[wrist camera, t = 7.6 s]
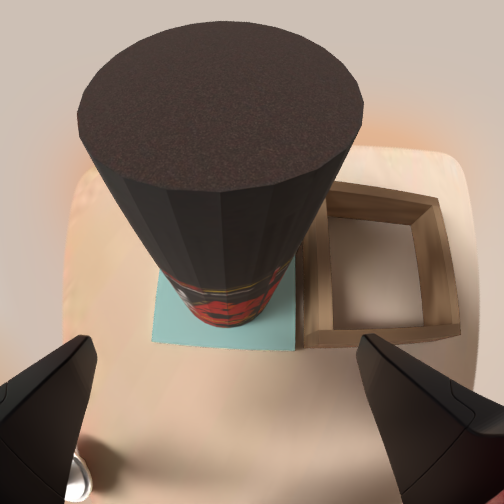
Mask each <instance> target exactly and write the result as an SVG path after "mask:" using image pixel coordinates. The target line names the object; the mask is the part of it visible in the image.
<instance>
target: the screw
mask: <svg viewBox="0 0 504 504" xmlns="http://www.w3.org/2000/svg"><path fill="white" fill-rule="evenodd" d="M91 491H92V478H91V475H90V472H89V470H88V468H87V466H86V462H85V460H84V459H83V458H81V457H80V456H79V455H78V454H77V453H76V452H75V453H74V457H73V461H72V465H71V470H70V475H69V480H68V485H67V490H66V495H65V500H66V501H69V502H81V501H83V500H85V499H86V498H87V497H88V496H89V495H90V493H91Z"/></svg>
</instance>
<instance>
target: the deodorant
mask: <svg viewBox="0 0 504 504" xmlns="http://www.w3.org/2000/svg"><path fill="white" fill-rule="evenodd" d="M363 107H364V101H363V98H362V95H361V93H360V90H359V87H358V84H357V81H356V80H355V79H354V77H353V76H352V75H351V73H350V72H349V71H348V69H347V68H346V67H345V66H344V64H343V63H342V62H341V61H339V60H338V59H337V58H336V57H335V56H333V55H332V54H331V53H329V52H328V51H327V50H326V49H324V48H323V47H321V46H319V45H317V44H315V43H314V42H312V41H310V40H308V39H306V38H304V37H302V36H300V35H297V34H295V33H292V32H289V31H286V30H283V29H280V28H276V27H272V26H267V25H262V24H256V23H250V22H234V21H233V22H232V21H216V22H205V23H196V24H190V25H185V26H181V27H177V28H173V29H169V30H165V31H163V32H160V33H157V34H155V35H152V36H150V37H147V38H145V39H142V40H140V41H138V42H136V43H135V44H133V45H131V46H130V47H128V48H126V49H125V50H123V51H121V52H120V53H119V54H117V55H115V57H113V58H112V59H111V60H110V61H109V62H108V63H107V64H105V65H104V66H103V67H102V68H101V69H100V70H99V71H98V72H97V73H96V75H95V76H94V77H93V79H92V80H91V82H90V83H89V85H88V86H87V88H86V89H85V91H84V93H83V96H82V99H81V102H80V105H79V108H78V111H77V120H78V130H79V137H80V139H81V141H82V142H83V144H84V146H85V148H86V150H87V152H88V154H89V155H90V157H91V159H92V161H93V163H94V164H95V166H96V168H97V170H98V172H99V173H100V175H101V177H102V178H103V180H104V182H105V184H106V185H107V187H108V189H109V190H110V192H111V194H112V195H113V197H114V199H115V200H116V202H117V204H118V205H119V207H120V209H121V210H122V212H123V213H124V215H125V217H126V218H127V220H128V221H129V223H130V225H131V226H132V228H133V229H134V231H135V232H136V234H137V235H138V237H139V238H140V240H141V242H142V243H143V245H144V246H145V248H146V249H147V251H148V252H149V254H150V255H151V256H152V258H153V259H154V261H155V262H156V264H157V265H158V267H159V268H160V270H161V271H162V273H163V274H164V275H165V277H166V278H167V280H168V281H169V282H170V284H171V285H172V287H173V288H174V289H175V291H176V292H177V294H178V295H179V296H180V298H181V299H182V300H183V302H184V303H185V305H186V306H187V307H188V308H189V310H190V311H191V312H192V313H193V315H194V316H195V317H197V318H198V319H200V320H201V321H203V322H204V323H206V324H209V325H211V326H214V327H219V328H233V327H238V326H242V325H244V324H246V323H248V322H251V321H253V320H254V319H255V318H256V317H257V316H258V315H259V314H261V313H262V311H263V310H264V308H265V307H266V305H267V304H268V302H269V300H270V299H271V297H272V295H273V293H274V291H275V290H276V288H277V286H278V284H279V283H280V281H281V279H282V277H283V275H284V274H285V272H286V270H287V268H288V266H289V265H290V263H291V261H292V259H293V257H294V256H295V254H296V252H297V250H298V248H299V246H300V245H301V243H302V241H303V239H304V237H305V235H306V233H307V232H308V230H309V228H310V226H311V224H312V222H313V220H314V218H315V217H316V215H317V213H318V211H319V209H320V207H321V205H322V203H323V201H324V199H325V197H326V196H327V194H328V192H329V190H330V188H331V186H332V184H333V182H334V180H335V178H336V176H337V174H338V172H339V170H340V168H341V166H342V164H343V162H344V160H345V158H346V156H347V154H348V152H349V150H350V148H351V146H352V144H353V142H354V140H355V138H356V136H357V134H358V132H359V130H360V128H361V126H362V118H363Z"/></svg>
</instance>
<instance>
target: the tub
mask: <svg viewBox="0 0 504 504" xmlns="http://www.w3.org/2000/svg"><path fill="white" fill-rule="evenodd" d="M327 216H331V217H341V218H351V219H360V220H369V221H378V222H387V223H395V224H403V225H411V229H412V234H413V239H414V245H415V251H416V257H417V264H418V271H419V279H420V287H421V296H422V306H423V319H424V326H423V327H407V328H388V329H358V330H333V312H332V282H331V262H330V246H329V232H328V219H327ZM303 273H304V348H348V347H358V346H359V343H360V339H361V337H362V335H363V334H369V333H375V334H376V335H378V336H380V337H381V338H383V339H385V340H386V341H388V342H390V343H391V344H393V345H399V344H411V343H421V342H431V341H436V340H441V339H445V338H449V337H453V336H458V335H461V329H460V316H459V306H458V297H457V290H456V282H455V276H454V270H453V264H452V258H451V253H450V248H449V243H448V238H447V234H446V229H445V225H444V221H443V217H442V213H441V209H440V205H439V202H438V198H435V197H430V196H425V195H420V194H414V193H409V192H403V191H398V190H392V189H386V188H380V187H373V186H367V185H360V184H353V183H346V182H338V181H334V182H333V184H332V186H331V188H330V190H329V192H328V194H327V196H326V197H325V199H324V201H323V203H322V205H321V207H320V209H319V211H318V213H317V215H316V217H315V218H314V220H313V222H312V224H311V226H310V228H309V230H308V232H307V233H306V235H305V237H304V239H303Z"/></svg>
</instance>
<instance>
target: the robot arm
mask: <svg viewBox="0 0 504 504" xmlns="http://www.w3.org/2000/svg"><path fill="white" fill-rule="evenodd" d="M356 358H357V363H358V366H359V370H360V374H361V378H362V382H363V386H364V390H365V393H366V396H367V399H368V402H369V405H370V407H371V410H372V413H373V415H374V418H375V421H376V424H377V426H378V429H379V432H380V435H381V438H382V440H383V443H384V446H385V449H386V452H387V455H388V458H389V461H390V464H391V467H392V470H393V473H394V476H395V479H396V482H397V485H398V488H399V491H400V494H401V498H402V501H403V504H504V406H502V405H500V404H498V403H496V402H494V401H492V400H489V399H487V398H485V397H483V396H481V395H479V394H477V393H475V392H473V391H471V390H469V389H467V388H465V387H464V386H462V385H460V384H458V383H457V382H455V381H453V380H452V379H450V378H448V377H447V376H445V375H443V374H442V373H440V372H438V371H436V370H435V369H433V368H431V367H430V366H428V365H426V364H425V363H423V362H421V361H420V360H418V359H416V358H415V357H413V356H411V355H410V354H408V353H406V352H405V351H403V350H401V349H400V348H398V347H396V346H395V345H393V344H391V343H390V342H388V341H386V340H385V339H383V338H381V337H380V336H378V335H376V334H375V333H369V334H363V335H362V337H361V339H360V343H359V346H358V350H357V353H356ZM96 364H97V353H96V350H95V347H94V345H93V342H92V339H91V337H90V336H88V335H78V336H76V337H75V338H73V339H72V340H70V341H68V342H67V343H65V344H64V345H62V346H61V347H59V348H58V349H56V350H55V351H53V352H51V353H50V354H48V355H47V356H46V357H44V358H42V359H41V360H39V361H38V362H36V363H35V364H33V365H31V366H30V367H28V368H27V369H25V370H24V371H22V372H21V373H19V374H18V375H16V376H15V377H13V378H12V379H10V380H9V381H8V382H6V383H4V384H3V385H1V386H0V504H64V502H65V495H66V490H67V485H68V480H69V475H70V470H71V465H72V461H73V457H74V453H75V448H76V444H77V441H78V437H79V433H80V429H81V426H82V422H83V418H84V415H85V411H86V408H87V405H88V401H89V398H90V393H91V388H92V383H93V378H94V373H95V369H96Z"/></svg>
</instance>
